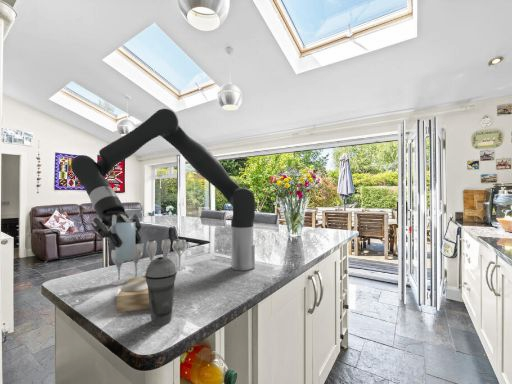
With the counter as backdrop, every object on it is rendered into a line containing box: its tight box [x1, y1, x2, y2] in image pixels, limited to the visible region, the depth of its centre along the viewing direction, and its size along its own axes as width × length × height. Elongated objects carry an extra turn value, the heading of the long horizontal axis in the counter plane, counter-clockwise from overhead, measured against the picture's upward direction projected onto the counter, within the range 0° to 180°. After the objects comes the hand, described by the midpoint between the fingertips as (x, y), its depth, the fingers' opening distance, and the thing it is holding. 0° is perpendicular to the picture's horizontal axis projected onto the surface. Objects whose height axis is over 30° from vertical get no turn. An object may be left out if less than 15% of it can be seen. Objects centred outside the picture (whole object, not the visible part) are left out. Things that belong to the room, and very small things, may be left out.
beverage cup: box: [144, 238, 178, 327], centre depth 62 cm, size 7×7×20 cm
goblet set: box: [110, 238, 188, 286], centre depth 97 cm, size 28×6×13 cm, turn 132°
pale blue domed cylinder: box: [114, 222, 136, 263], centre depth 76 cm, size 5×5×11 cm
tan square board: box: [115, 276, 150, 313], centre depth 75 cm, size 12×14×4 cm
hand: (129, 243), depth 75 cm, fingers closed on pale blue domed cylinder, 5 cm apart
